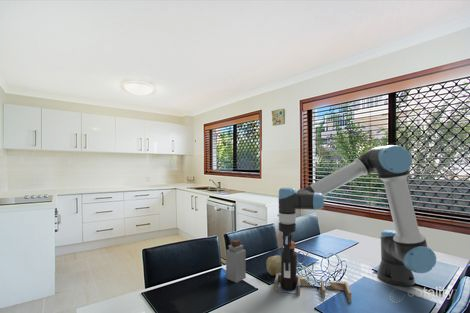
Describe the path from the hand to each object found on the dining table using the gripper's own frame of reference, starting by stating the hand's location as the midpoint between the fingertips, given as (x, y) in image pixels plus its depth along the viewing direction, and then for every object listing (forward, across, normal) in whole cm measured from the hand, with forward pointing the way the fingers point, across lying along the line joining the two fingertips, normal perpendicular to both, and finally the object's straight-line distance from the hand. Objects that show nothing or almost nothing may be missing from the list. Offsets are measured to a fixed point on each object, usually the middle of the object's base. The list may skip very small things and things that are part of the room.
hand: (287, 273), depth 110 cm
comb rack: (+7, 0, +10) cm, 12 cm away
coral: (+7, -12, -7) cm, 16 cm away
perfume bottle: (+7, -4, -25) cm, 26 cm away
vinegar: (+6, 0, 0) cm, 6 cm away
